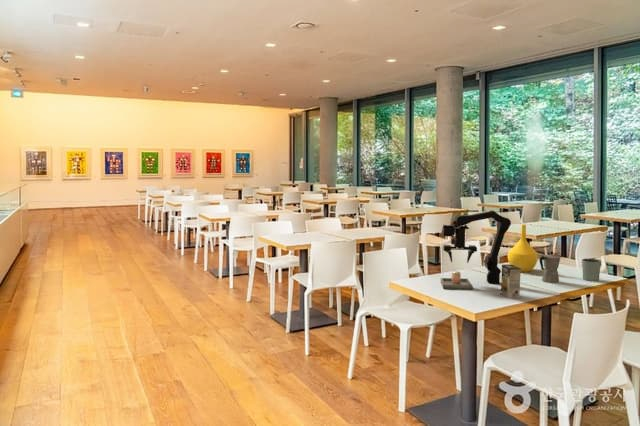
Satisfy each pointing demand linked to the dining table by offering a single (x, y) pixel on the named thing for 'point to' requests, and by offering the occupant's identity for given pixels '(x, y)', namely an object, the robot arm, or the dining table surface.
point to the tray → (463, 285)
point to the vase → (523, 254)
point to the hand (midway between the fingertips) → (459, 262)
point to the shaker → (456, 278)
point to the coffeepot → (550, 268)
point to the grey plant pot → (591, 269)
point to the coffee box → (510, 281)
